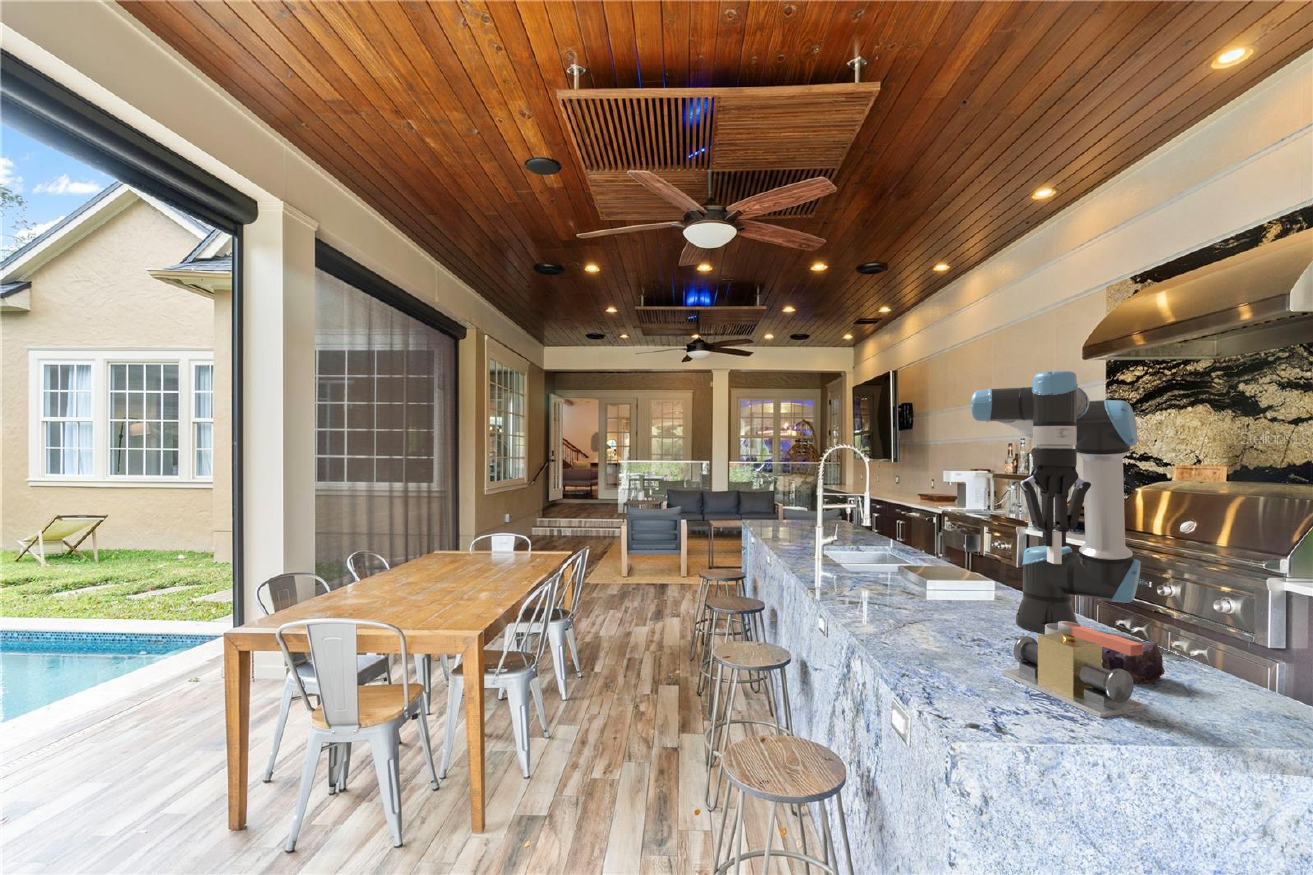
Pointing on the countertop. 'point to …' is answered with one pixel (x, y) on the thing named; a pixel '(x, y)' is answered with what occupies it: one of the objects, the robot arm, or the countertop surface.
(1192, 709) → the countertop surface
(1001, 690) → the countertop surface
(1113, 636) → the lever
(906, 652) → the countertop surface
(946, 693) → the countertop surface
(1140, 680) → the rock
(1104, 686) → the valve
